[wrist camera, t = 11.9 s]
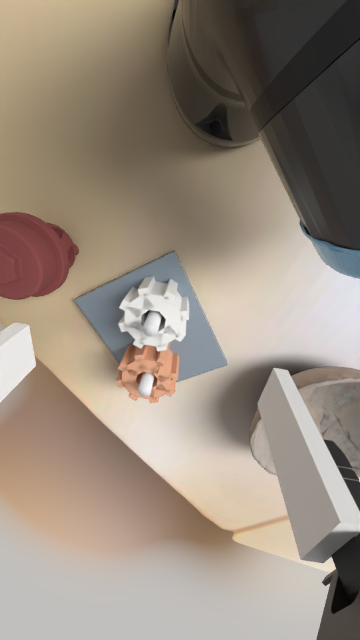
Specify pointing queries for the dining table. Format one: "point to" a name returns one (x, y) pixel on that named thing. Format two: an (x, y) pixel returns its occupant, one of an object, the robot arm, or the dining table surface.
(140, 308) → the white gear
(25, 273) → the mechanical component
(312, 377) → the bowl
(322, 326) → the dining table surface
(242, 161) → the dining table surface
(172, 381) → the terracotta gear
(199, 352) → the gear board
